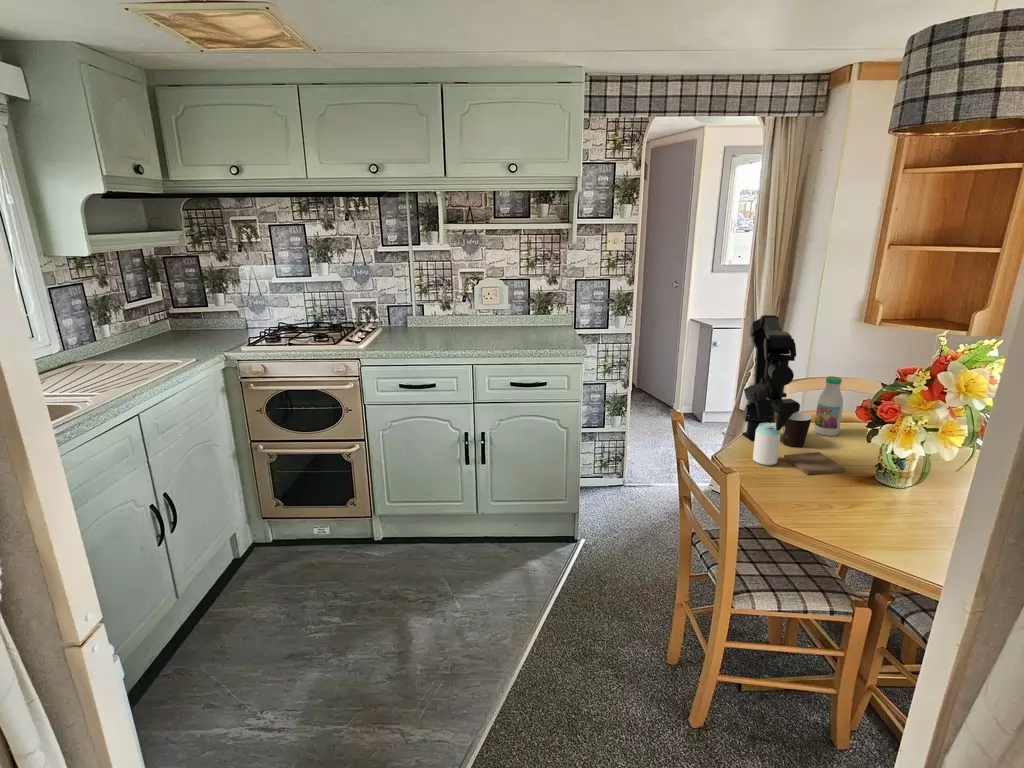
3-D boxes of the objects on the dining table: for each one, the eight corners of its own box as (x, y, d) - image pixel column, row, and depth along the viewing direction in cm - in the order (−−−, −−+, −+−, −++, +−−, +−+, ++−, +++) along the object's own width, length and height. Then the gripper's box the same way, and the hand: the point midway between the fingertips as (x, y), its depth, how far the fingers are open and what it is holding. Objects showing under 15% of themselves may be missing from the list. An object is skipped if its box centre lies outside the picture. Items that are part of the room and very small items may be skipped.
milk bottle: (819, 426, 205) (827, 373, 199) (842, 432, 200) (851, 377, 194) (809, 432, 201) (817, 377, 195) (832, 438, 195) (841, 382, 189)
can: (780, 461, 178) (785, 425, 175) (771, 468, 174) (775, 431, 170) (758, 455, 183) (762, 420, 180) (748, 462, 179) (752, 426, 175)
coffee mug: (804, 451, 185) (808, 422, 182) (776, 445, 190) (779, 417, 188) (812, 439, 194) (815, 412, 191) (784, 434, 199) (788, 407, 196)
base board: (783, 458, 180) (784, 455, 180) (818, 455, 182) (818, 452, 182) (807, 475, 169) (808, 471, 169) (844, 471, 171) (845, 468, 170)
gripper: (733, 369, 178) (729, 416, 183) (767, 386, 160) (762, 438, 165) (766, 367, 180) (761, 413, 184) (804, 384, 162) (797, 435, 167)
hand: (769, 424), depth 175 cm, fingers open, 9 cm apart
